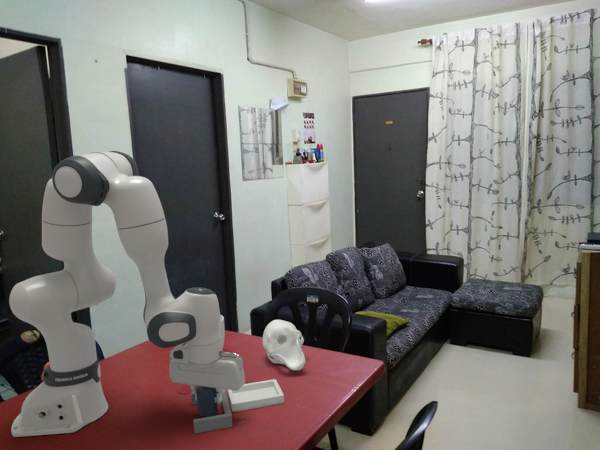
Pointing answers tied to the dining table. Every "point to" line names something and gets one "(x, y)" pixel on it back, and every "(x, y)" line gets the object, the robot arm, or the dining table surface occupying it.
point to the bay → (213, 417)
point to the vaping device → (206, 401)
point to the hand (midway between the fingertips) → (208, 400)
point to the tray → (256, 395)
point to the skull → (284, 344)
